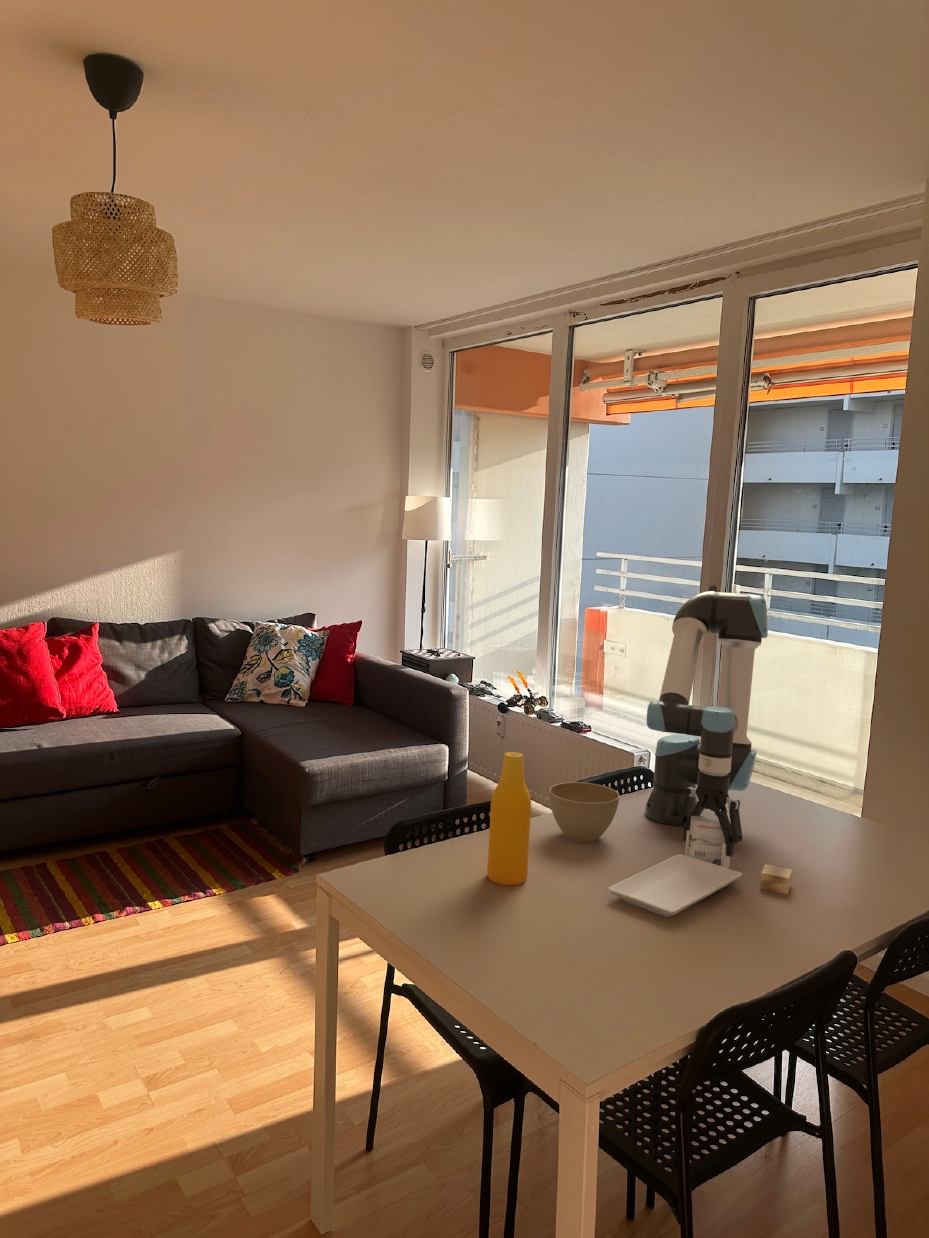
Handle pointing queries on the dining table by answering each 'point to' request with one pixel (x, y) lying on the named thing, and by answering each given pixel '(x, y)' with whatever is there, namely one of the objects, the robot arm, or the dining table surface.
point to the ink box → (706, 839)
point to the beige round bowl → (583, 809)
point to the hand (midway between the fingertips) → (706, 861)
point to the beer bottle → (509, 824)
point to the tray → (673, 884)
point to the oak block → (776, 879)
